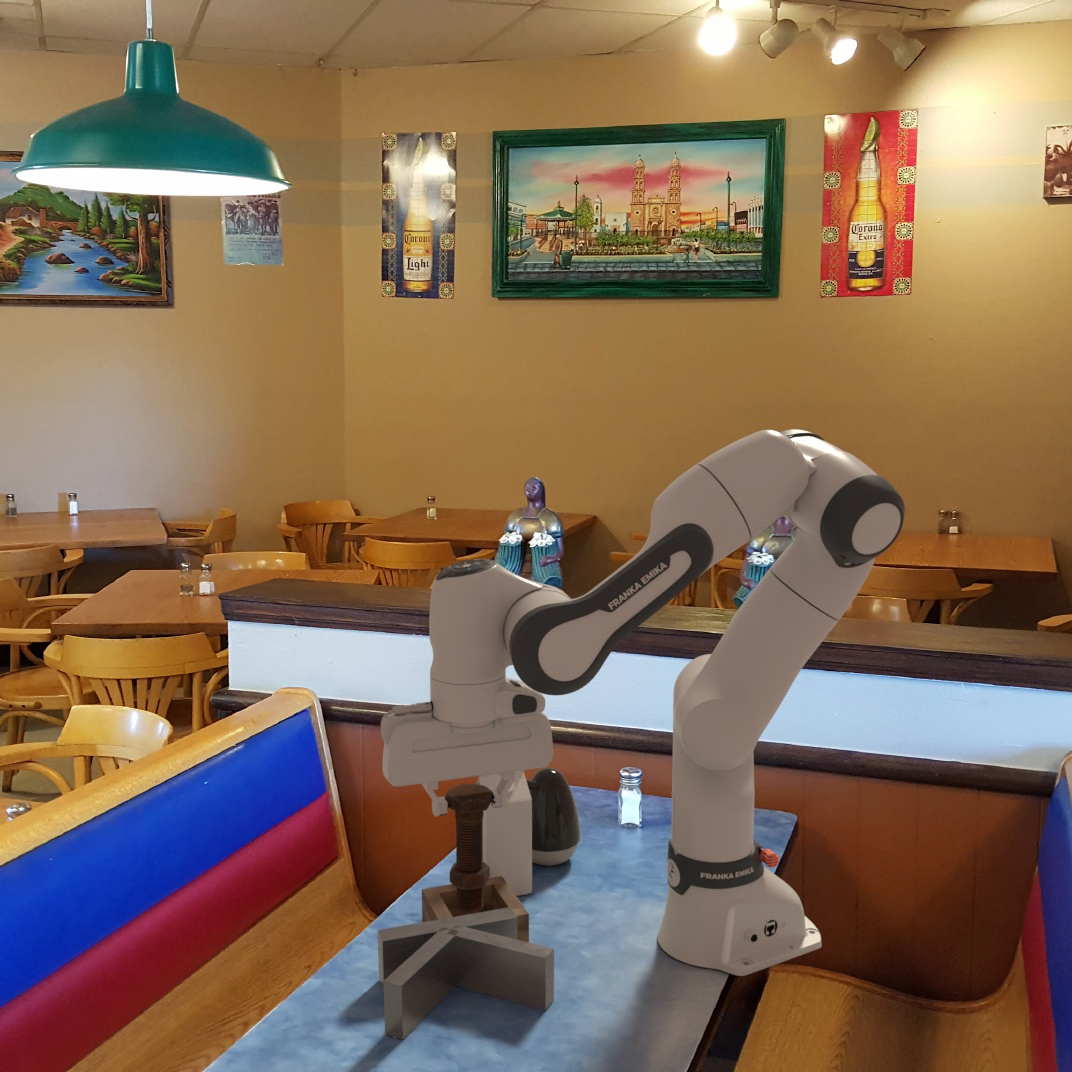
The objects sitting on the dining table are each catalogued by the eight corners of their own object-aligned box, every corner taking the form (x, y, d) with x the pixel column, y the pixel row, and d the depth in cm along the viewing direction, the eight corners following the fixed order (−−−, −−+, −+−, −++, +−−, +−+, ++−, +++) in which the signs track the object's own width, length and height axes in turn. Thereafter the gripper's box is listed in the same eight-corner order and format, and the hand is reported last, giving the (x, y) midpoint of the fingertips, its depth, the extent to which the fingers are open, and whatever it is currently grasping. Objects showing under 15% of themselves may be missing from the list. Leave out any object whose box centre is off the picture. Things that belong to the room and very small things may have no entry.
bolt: (484, 923, 133) (483, 802, 131) (443, 918, 134) (441, 799, 132) (496, 899, 139) (495, 784, 136) (456, 895, 140) (455, 780, 137)
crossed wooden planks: (522, 953, 153) (522, 904, 152) (558, 1007, 140) (559, 955, 139) (365, 982, 146) (363, 932, 145) (388, 1043, 133) (386, 988, 132)
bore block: (502, 907, 166) (501, 875, 165) (528, 947, 155) (528, 913, 154) (422, 921, 162) (421, 889, 161) (444, 963, 151) (443, 928, 150)
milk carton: (473, 881, 174) (471, 764, 171) (516, 874, 177) (515, 758, 174) (487, 902, 168) (486, 780, 164) (532, 894, 170) (532, 774, 167)
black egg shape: (503, 855, 183) (503, 765, 181) (556, 840, 189) (556, 753, 186) (538, 879, 175) (538, 785, 172) (592, 862, 180) (593, 772, 178)
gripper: (386, 715, 126) (388, 832, 128) (558, 696, 133) (557, 808, 135) (374, 699, 132) (377, 811, 134) (539, 682, 138) (539, 789, 141)
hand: (469, 810), depth 134 cm, fingers closed on bolt, 6 cm apart
